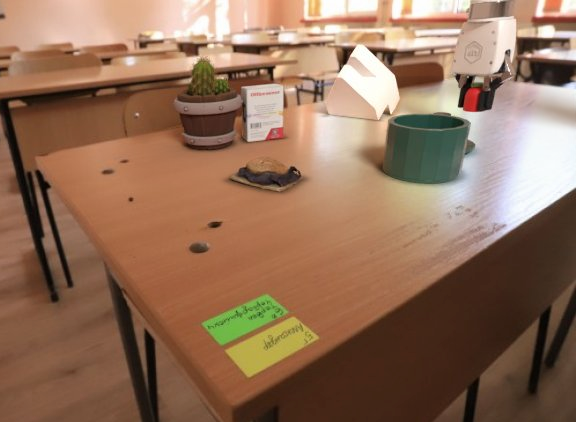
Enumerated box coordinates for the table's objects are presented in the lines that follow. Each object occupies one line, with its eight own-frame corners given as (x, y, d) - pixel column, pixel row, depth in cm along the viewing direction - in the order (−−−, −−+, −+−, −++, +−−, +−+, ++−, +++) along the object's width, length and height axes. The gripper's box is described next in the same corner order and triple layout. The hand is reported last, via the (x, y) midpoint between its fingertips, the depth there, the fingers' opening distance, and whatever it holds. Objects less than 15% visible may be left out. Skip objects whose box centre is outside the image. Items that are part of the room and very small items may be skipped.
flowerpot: (187, 135, 103) (180, 49, 95) (248, 136, 99) (247, 45, 91) (167, 153, 90) (157, 55, 82) (236, 154, 86) (233, 51, 78)
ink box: (276, 133, 99) (277, 82, 94) (283, 138, 95) (284, 85, 90) (241, 137, 98) (240, 85, 93) (247, 142, 94) (246, 88, 89)
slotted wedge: (333, 124, 117) (314, 76, 105) (351, 95, 120) (334, 44, 107) (381, 131, 108) (366, 78, 95) (400, 99, 110) (388, 44, 98)
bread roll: (226, 181, 73) (225, 161, 71) (255, 167, 78) (255, 148, 76) (279, 194, 66) (279, 172, 64) (306, 178, 71) (307, 157, 70)
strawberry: (482, 108, 89) (486, 81, 87) (487, 111, 85) (493, 84, 83) (460, 108, 90) (464, 82, 88) (465, 112, 87) (470, 85, 84)
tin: (450, 161, 74) (459, 113, 70) (467, 185, 64) (479, 130, 60) (380, 159, 77) (385, 113, 74) (385, 181, 67) (392, 129, 64)
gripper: (440, 16, 87) (428, 105, 94) (518, 11, 72) (496, 117, 79) (469, 13, 89) (455, 101, 96) (550, 8, 74) (527, 112, 81)
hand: (474, 107), depth 88 cm, fingers closed on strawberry, 4 cm apart
